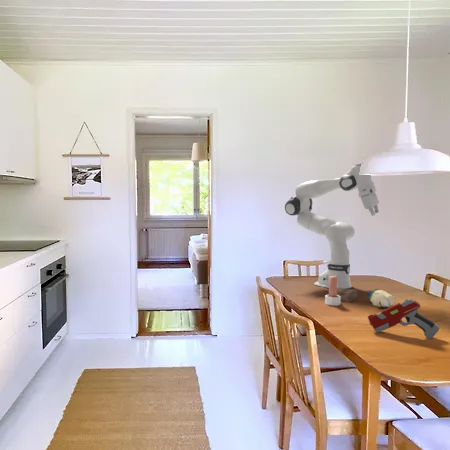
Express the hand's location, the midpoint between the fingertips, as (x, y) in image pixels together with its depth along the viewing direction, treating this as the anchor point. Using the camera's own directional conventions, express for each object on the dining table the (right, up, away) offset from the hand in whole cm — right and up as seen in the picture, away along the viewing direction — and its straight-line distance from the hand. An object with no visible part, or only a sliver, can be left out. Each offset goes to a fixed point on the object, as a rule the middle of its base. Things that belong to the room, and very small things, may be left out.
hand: (375, 214), depth 235 cm
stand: (-21, -47, -10) cm, 52 cm away
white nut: (-30, -47, -21) cm, 60 cm away
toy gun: (-14, -51, -67) cm, 85 cm away
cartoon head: (-7, -48, -23) cm, 54 cm away
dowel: (-30, -47, -21) cm, 59 cm away
